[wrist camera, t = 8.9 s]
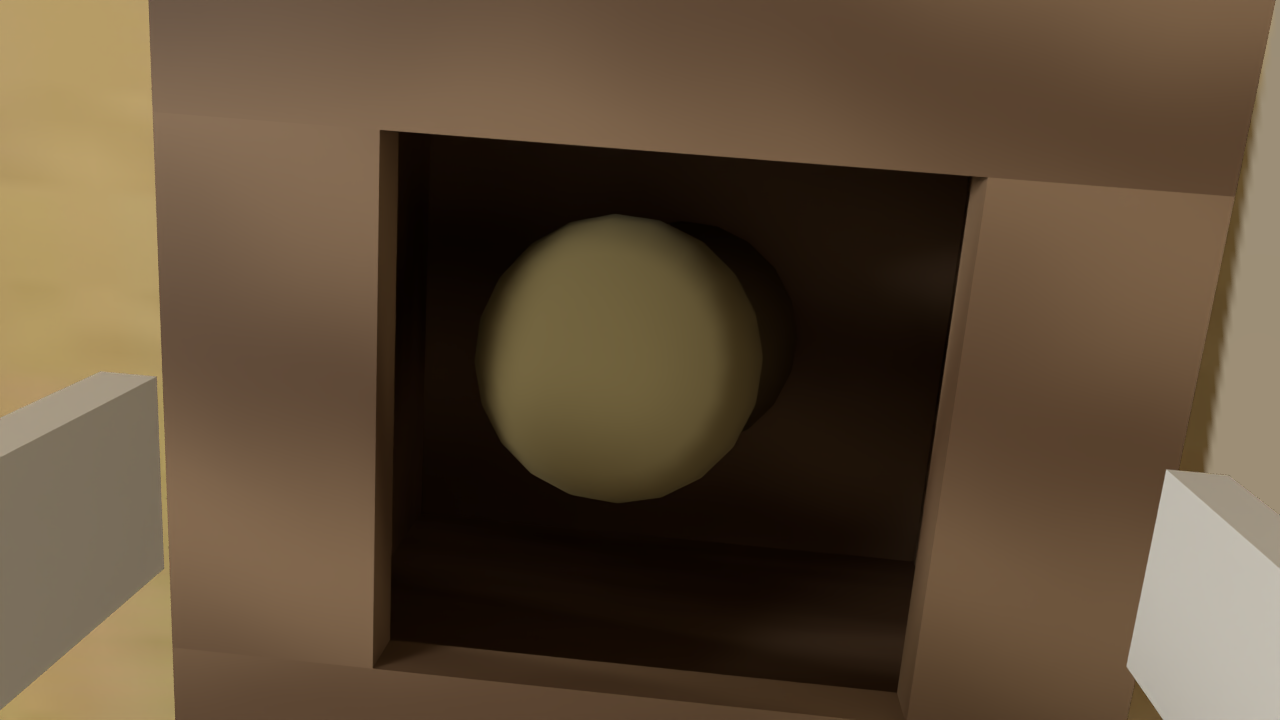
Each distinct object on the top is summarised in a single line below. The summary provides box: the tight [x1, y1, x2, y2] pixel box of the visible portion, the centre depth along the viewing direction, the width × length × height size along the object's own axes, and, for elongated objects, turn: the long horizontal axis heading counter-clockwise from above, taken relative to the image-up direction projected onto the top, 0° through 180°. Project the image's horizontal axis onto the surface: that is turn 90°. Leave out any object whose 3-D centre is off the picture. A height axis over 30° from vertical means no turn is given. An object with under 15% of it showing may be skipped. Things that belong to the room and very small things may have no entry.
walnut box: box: [149, 0, 1275, 720], centre depth 24 cm, size 16×16×13 cm
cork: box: [474, 214, 797, 503], centre depth 24 cm, size 6×6×11 cm
